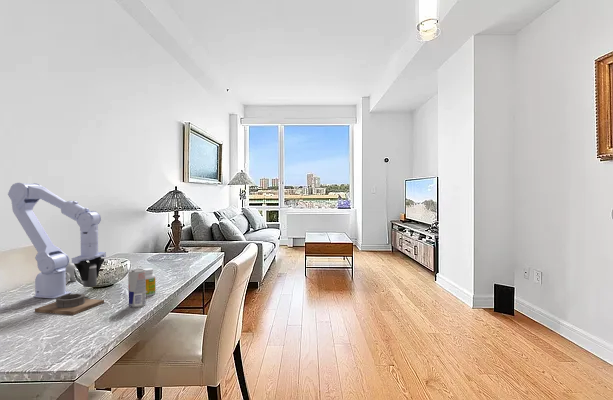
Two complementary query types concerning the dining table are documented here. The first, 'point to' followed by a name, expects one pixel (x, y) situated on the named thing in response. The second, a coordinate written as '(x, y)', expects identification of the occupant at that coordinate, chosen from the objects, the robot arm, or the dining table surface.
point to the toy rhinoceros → (70, 272)
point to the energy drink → (137, 288)
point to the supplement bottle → (150, 281)
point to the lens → (91, 276)
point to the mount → (70, 304)
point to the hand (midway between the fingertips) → (89, 279)
